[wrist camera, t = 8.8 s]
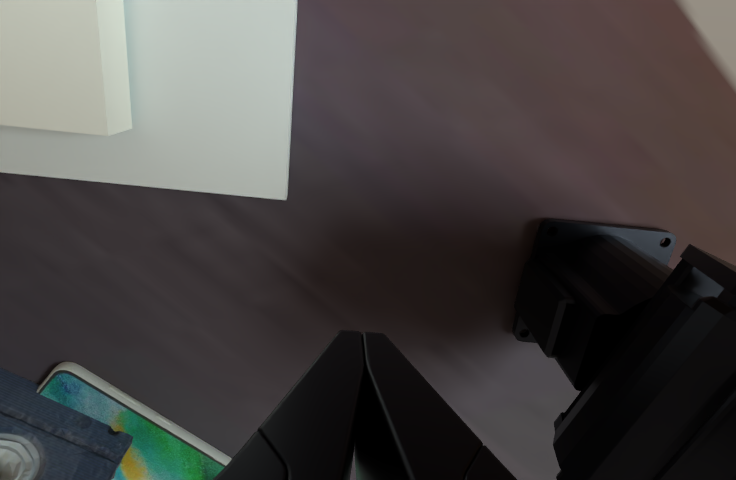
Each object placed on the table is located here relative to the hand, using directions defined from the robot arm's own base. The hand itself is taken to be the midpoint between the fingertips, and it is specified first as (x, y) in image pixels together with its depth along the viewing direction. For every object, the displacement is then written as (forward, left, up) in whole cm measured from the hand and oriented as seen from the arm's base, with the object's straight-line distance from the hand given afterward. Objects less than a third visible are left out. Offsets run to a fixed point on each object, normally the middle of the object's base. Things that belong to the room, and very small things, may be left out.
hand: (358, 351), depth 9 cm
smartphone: (+10, +18, -14) cm, 25 cm away
